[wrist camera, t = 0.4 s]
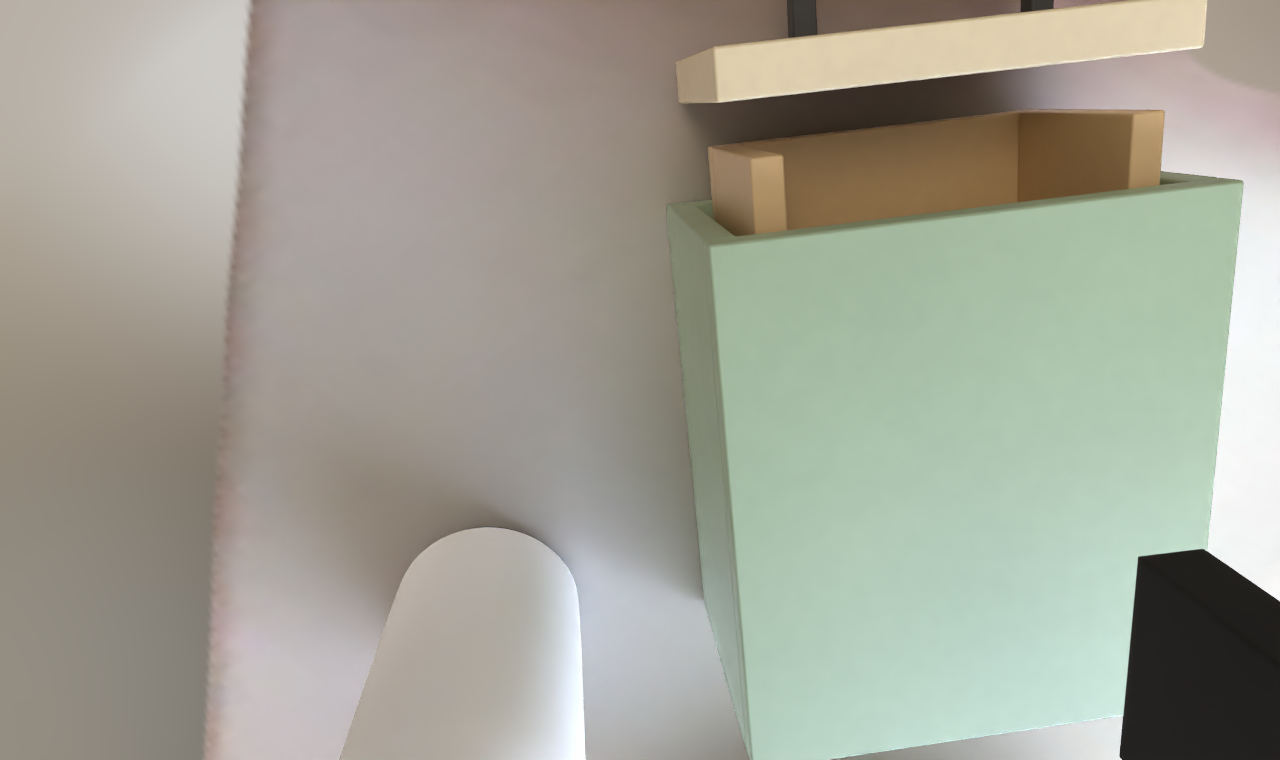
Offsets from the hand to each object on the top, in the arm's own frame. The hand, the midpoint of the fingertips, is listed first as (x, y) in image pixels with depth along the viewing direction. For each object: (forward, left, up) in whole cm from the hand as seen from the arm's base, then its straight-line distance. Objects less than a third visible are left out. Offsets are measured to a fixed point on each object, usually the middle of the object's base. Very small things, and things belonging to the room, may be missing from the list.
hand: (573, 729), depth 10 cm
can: (+10, -4, -20) cm, 23 cm away
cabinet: (+4, +10, -20) cm, 23 cm away
